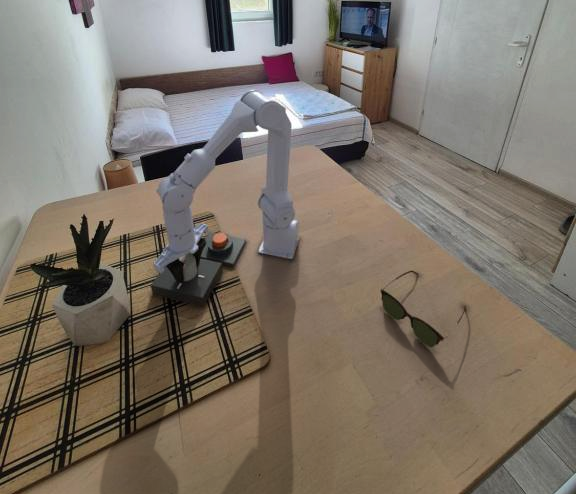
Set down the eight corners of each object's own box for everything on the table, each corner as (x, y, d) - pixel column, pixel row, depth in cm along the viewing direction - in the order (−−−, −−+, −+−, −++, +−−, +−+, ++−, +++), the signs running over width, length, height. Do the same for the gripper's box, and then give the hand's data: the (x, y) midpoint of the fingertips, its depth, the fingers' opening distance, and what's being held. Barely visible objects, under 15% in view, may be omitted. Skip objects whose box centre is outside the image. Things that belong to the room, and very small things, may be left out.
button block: (246, 242, 90) (245, 233, 89) (233, 267, 82) (232, 258, 81) (209, 235, 93) (208, 226, 91) (194, 258, 85) (192, 250, 83)
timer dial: (187, 263, 79) (185, 250, 78) (201, 270, 77) (199, 257, 76) (173, 276, 76) (171, 262, 74) (187, 284, 74) (185, 270, 72)
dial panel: (222, 271, 81) (221, 262, 80) (203, 307, 72) (202, 297, 71) (176, 261, 84) (174, 252, 82) (152, 294, 75) (150, 284, 74)
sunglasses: (376, 304, 73) (380, 287, 71) (411, 274, 82) (415, 258, 80) (438, 356, 63) (444, 338, 61) (470, 315, 72) (476, 298, 70)
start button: (229, 239, 88) (228, 234, 87) (223, 249, 84) (223, 243, 84) (216, 237, 88) (216, 232, 88) (211, 246, 85) (210, 241, 84)
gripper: (166, 256, 63) (176, 304, 69) (216, 214, 75) (220, 258, 81) (142, 243, 67) (153, 290, 72) (193, 205, 78) (199, 248, 84)
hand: (187, 272), depth 77 cm, fingers closed on timer dial, 4 cm apart
